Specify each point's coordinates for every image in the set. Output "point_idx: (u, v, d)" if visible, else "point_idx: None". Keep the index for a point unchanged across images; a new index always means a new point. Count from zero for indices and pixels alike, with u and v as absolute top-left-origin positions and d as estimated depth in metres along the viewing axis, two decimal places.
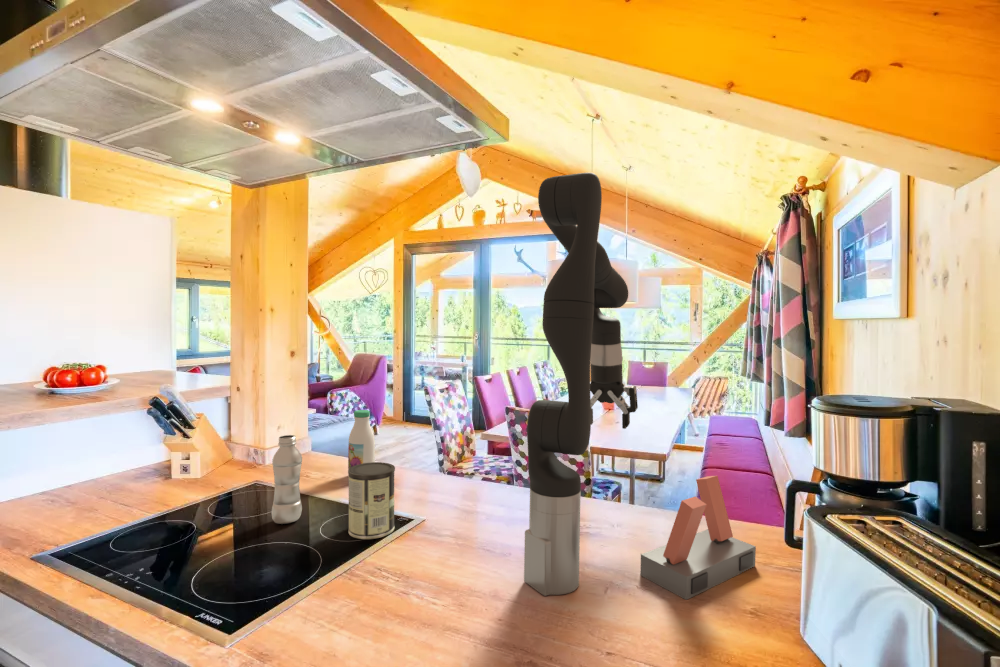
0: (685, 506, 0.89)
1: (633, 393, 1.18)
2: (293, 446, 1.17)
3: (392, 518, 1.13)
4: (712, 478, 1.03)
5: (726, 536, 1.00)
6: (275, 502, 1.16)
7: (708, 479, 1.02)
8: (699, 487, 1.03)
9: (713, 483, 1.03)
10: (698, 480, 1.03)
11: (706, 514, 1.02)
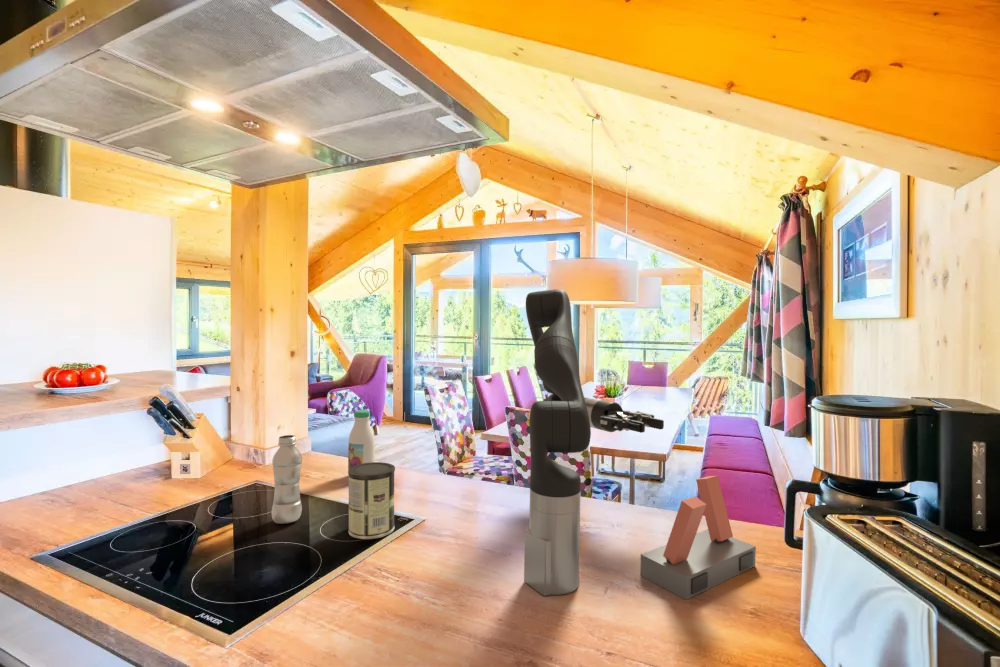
0: (685, 506, 0.89)
1: None
2: (293, 446, 1.17)
3: (392, 518, 1.13)
4: (712, 478, 1.03)
5: (726, 536, 1.00)
6: (275, 502, 1.16)
7: (708, 479, 1.02)
8: (699, 487, 1.03)
9: (713, 483, 1.03)
10: (698, 480, 1.03)
11: (706, 514, 1.02)
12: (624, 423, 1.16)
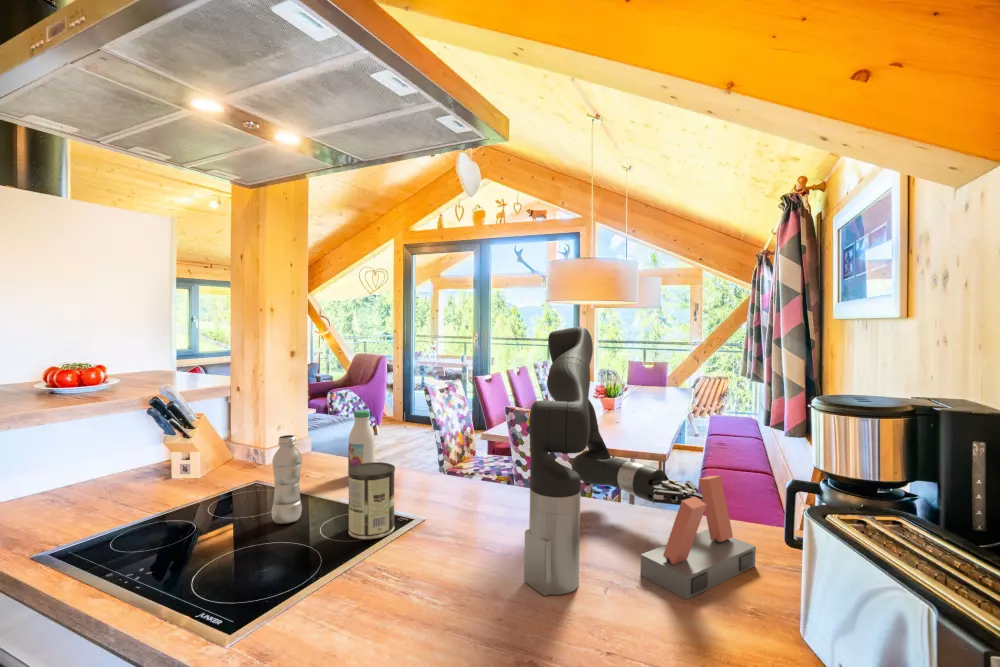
0: (685, 506, 0.89)
1: (691, 482, 1.13)
2: (293, 446, 1.17)
3: (392, 518, 1.13)
4: (715, 478, 1.03)
5: (726, 536, 1.00)
6: (275, 502, 1.16)
7: (711, 479, 1.02)
8: (701, 487, 1.03)
9: (716, 483, 1.02)
10: (701, 480, 1.03)
11: (707, 514, 1.02)
12: (685, 497, 1.06)
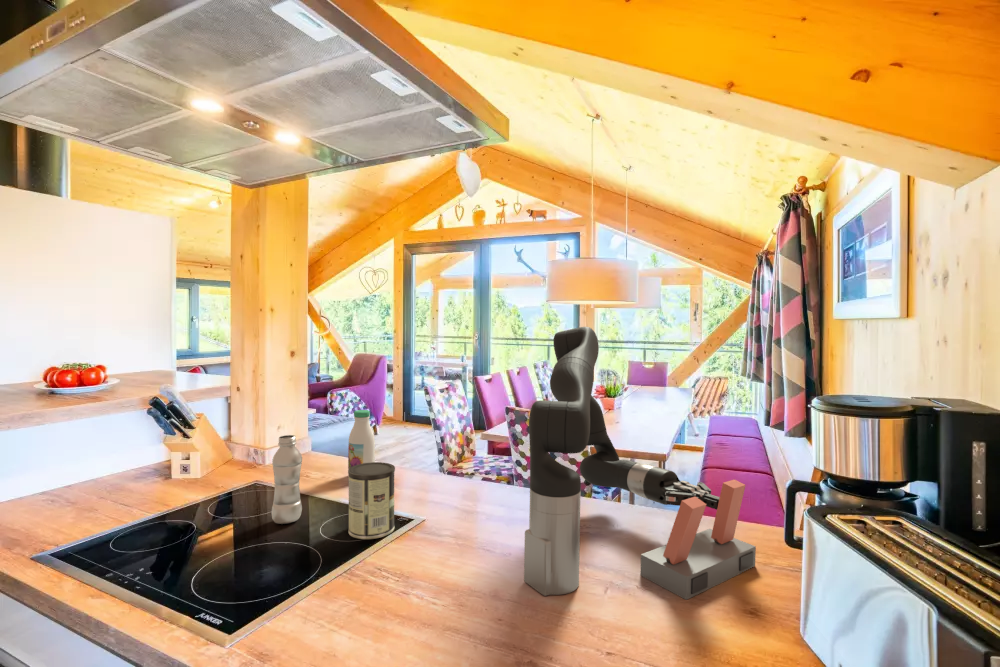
0: (685, 506, 0.89)
1: (703, 484, 1.11)
2: (293, 446, 1.17)
3: (392, 518, 1.13)
4: (740, 487, 0.98)
5: (727, 539, 1.00)
6: (275, 502, 1.16)
7: (736, 488, 0.98)
8: (722, 491, 0.99)
9: (738, 492, 0.98)
10: (725, 485, 0.99)
11: (717, 516, 1.00)
12: (698, 498, 1.03)
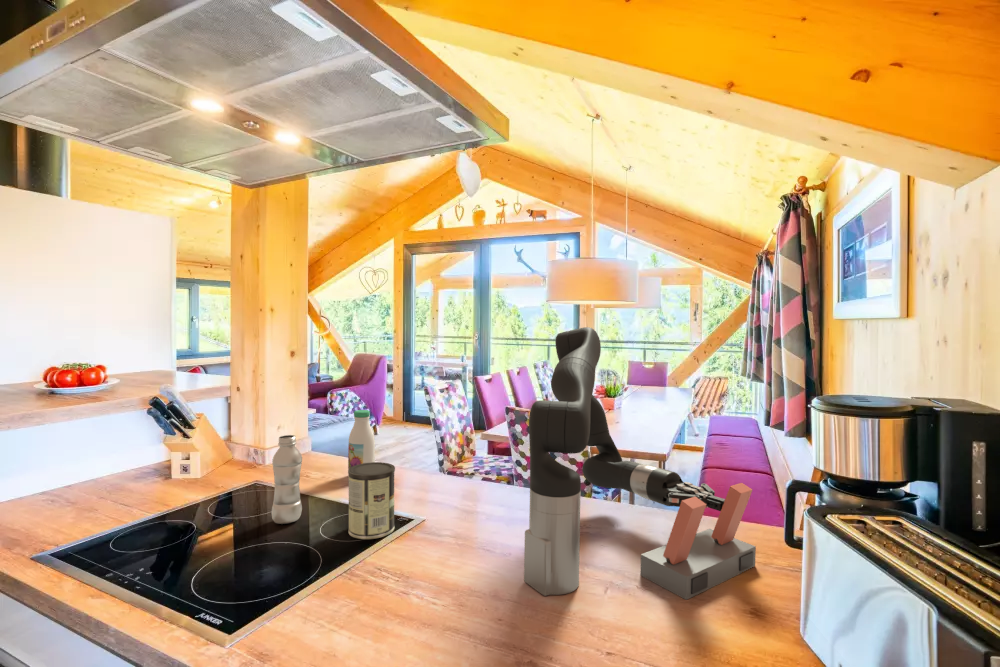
0: (685, 506, 0.89)
1: (706, 485, 1.10)
2: (293, 446, 1.17)
3: (392, 518, 1.13)
4: (746, 492, 0.97)
5: (727, 540, 1.00)
6: (275, 502, 1.16)
7: (743, 493, 0.96)
8: (729, 494, 0.98)
9: (745, 496, 0.97)
10: (732, 488, 0.97)
11: (720, 517, 0.99)
12: (701, 500, 1.03)
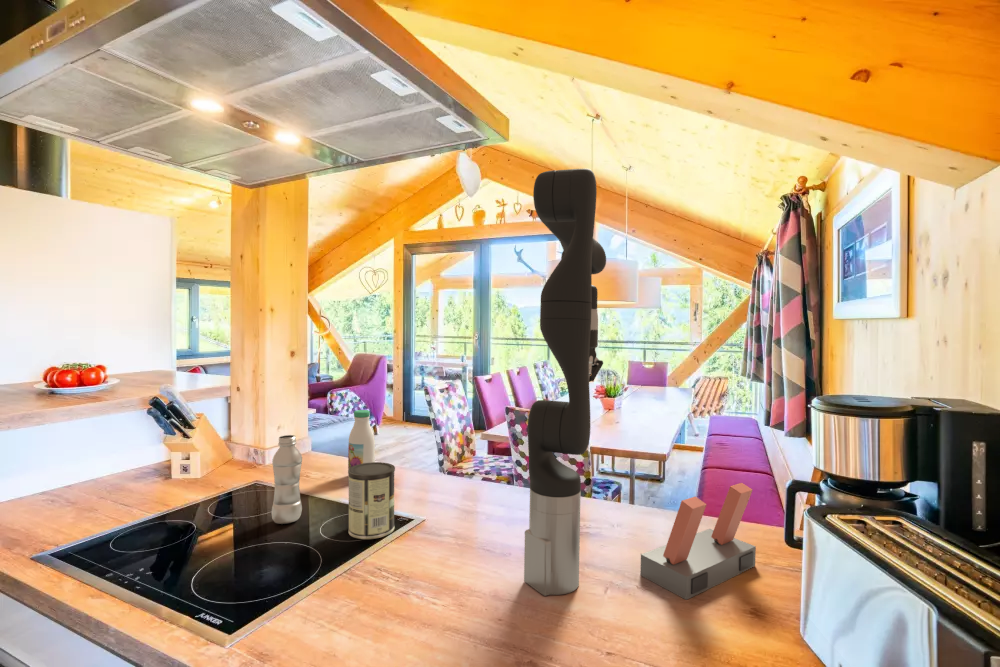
0: (685, 506, 0.89)
1: (600, 366, 1.24)
2: (293, 446, 1.17)
3: (392, 518, 1.13)
4: (747, 492, 0.97)
5: (727, 540, 1.00)
6: (275, 502, 1.16)
7: (743, 493, 0.96)
8: (729, 494, 0.98)
9: (745, 497, 0.97)
10: (732, 488, 0.97)
11: (721, 517, 0.99)
12: None
